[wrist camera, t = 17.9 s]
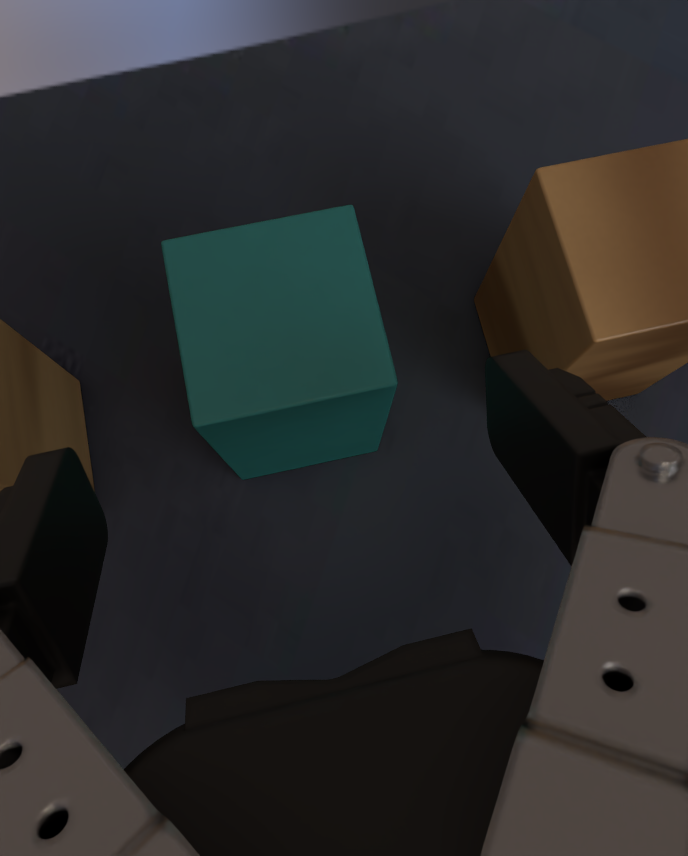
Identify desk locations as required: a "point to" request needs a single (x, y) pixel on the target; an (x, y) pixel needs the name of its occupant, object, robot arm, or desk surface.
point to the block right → (597, 270)
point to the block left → (36, 407)
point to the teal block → (281, 341)
